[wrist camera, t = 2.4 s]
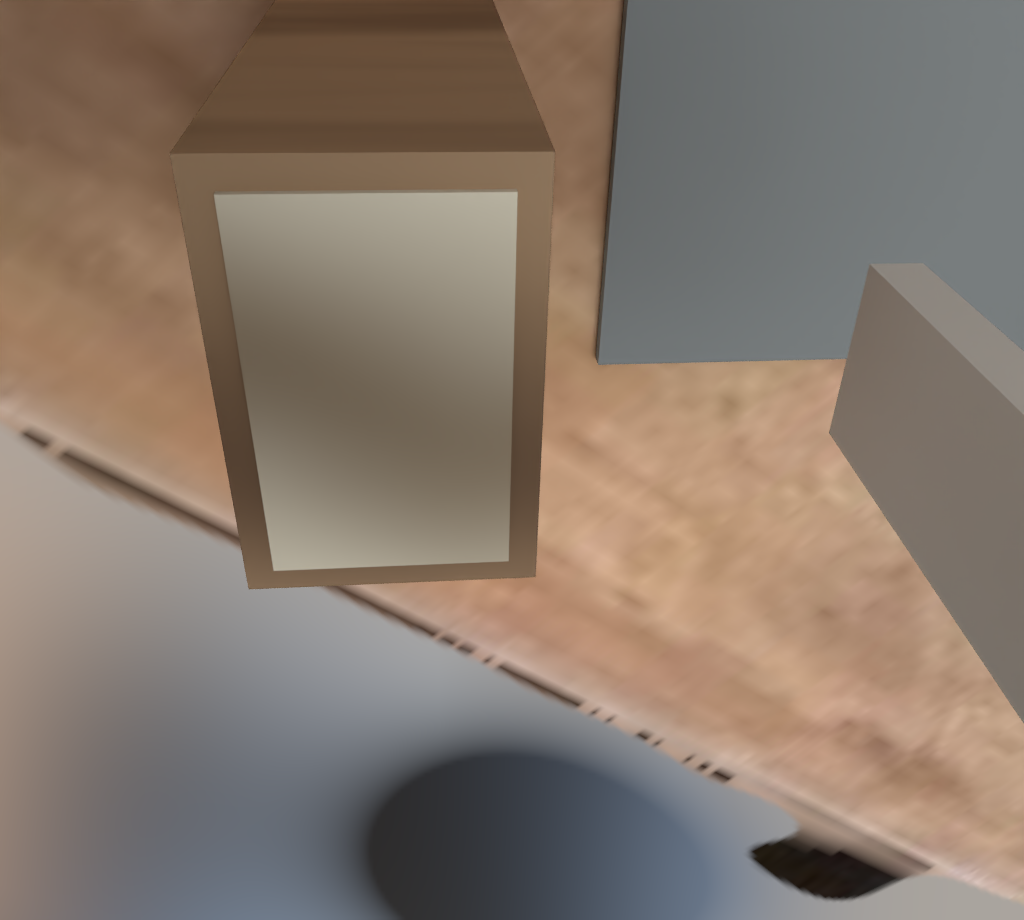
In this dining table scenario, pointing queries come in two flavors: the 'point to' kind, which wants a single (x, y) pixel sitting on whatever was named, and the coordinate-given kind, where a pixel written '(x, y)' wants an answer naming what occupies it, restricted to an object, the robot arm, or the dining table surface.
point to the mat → (807, 171)
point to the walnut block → (374, 291)
